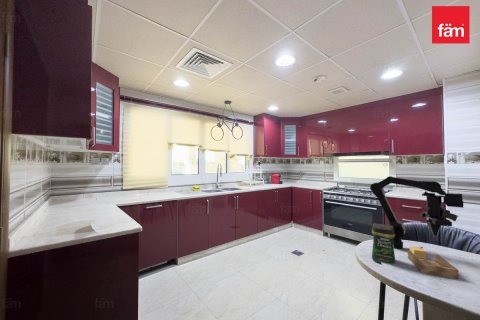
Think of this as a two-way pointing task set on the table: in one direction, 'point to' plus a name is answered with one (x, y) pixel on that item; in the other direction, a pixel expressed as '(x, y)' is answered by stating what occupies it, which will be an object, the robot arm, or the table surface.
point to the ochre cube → (418, 252)
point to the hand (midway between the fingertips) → (435, 235)
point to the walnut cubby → (434, 266)
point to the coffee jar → (383, 243)
